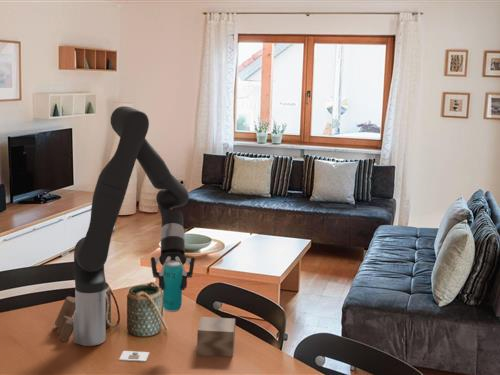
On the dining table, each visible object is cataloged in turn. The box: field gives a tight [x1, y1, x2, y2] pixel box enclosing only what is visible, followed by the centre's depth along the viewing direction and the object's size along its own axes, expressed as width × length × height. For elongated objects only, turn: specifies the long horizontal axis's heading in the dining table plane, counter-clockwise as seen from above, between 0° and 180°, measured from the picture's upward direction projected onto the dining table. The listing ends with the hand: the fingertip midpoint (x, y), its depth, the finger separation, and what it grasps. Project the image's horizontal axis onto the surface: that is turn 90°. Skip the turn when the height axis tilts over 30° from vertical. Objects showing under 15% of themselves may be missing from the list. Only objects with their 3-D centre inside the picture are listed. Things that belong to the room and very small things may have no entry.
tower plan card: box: [118, 350, 150, 363], centre depth 201 cm, size 8×6×1 cm
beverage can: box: [162, 261, 183, 313], centre depth 204 cm, size 6×6×15 cm
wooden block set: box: [54, 296, 75, 343], centre depth 217 cm, size 18×9×10 cm, turn 0°
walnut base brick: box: [196, 316, 236, 358], centre depth 208 cm, size 11×11×8 cm
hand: (173, 289), depth 202 cm, fingers closed on beverage can, 5 cm apart
